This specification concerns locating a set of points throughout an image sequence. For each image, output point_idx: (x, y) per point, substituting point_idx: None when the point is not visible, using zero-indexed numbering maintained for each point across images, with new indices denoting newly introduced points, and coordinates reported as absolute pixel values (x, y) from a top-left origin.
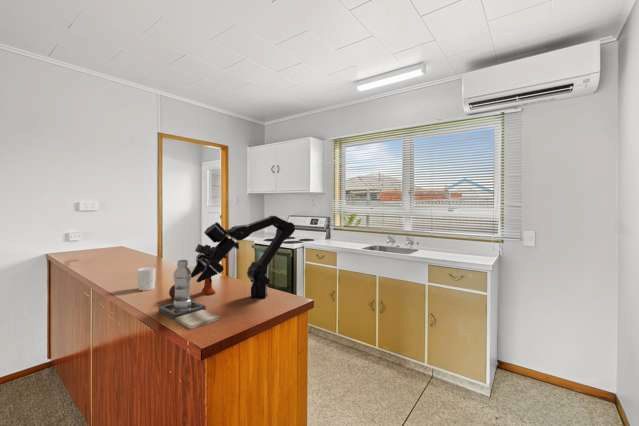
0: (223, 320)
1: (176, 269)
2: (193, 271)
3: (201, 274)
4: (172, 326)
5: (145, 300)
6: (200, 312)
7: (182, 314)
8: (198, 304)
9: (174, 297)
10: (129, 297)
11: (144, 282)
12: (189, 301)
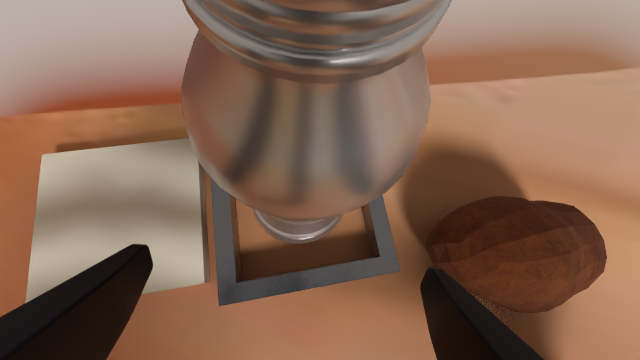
0: None
1: None
2: (469, 323)
3: (14, 320)
4: (150, 117)
5: (549, 128)
6: (171, 252)
7: None
8: (272, 280)
9: (459, 207)
10: (619, 93)
11: None
12: (259, 219)
